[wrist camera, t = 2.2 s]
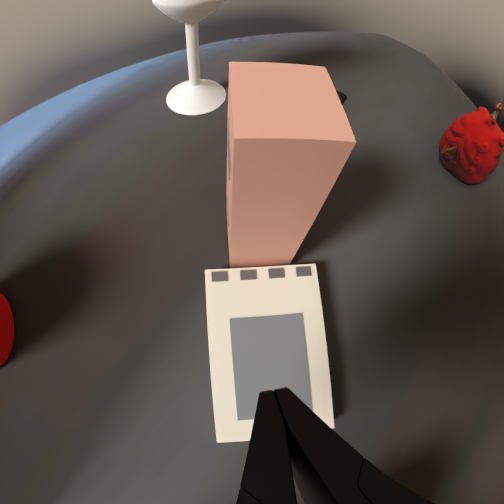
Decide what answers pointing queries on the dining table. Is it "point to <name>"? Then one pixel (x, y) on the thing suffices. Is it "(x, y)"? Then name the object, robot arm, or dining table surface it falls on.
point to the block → (280, 157)
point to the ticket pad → (265, 343)
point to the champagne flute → (192, 59)
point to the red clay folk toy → (472, 145)
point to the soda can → (5, 329)
